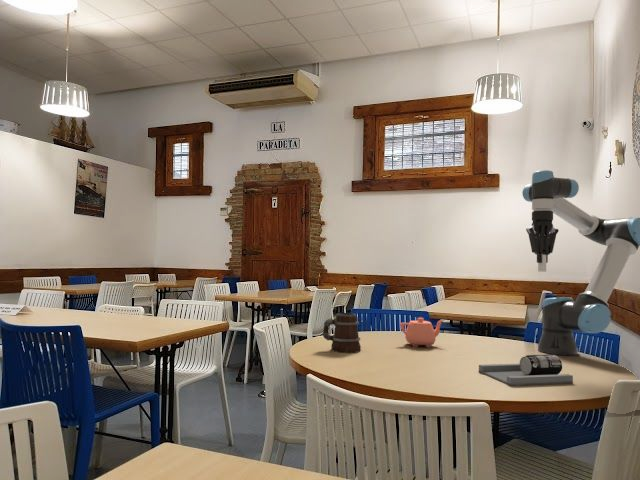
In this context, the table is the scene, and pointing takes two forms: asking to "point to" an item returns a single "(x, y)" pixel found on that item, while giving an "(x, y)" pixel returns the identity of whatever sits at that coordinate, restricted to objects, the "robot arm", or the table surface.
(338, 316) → the mug
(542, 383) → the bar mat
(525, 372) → the beverage can
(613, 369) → the table surface
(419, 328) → the teapot
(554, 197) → the robot arm
